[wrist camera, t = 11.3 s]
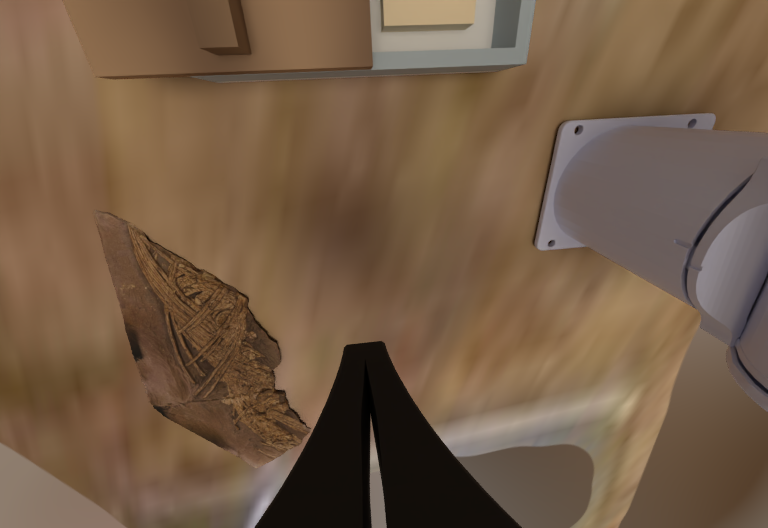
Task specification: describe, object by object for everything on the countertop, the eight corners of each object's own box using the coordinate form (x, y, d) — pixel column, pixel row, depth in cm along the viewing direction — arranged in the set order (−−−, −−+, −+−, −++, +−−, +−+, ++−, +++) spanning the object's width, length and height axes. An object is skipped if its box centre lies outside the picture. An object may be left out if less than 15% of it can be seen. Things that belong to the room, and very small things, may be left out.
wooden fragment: (319, 451, 29) (318, 462, 28) (207, 470, 29) (202, 482, 28) (223, 192, 17) (216, 197, 16) (29, 219, 17) (10, 225, 16)
